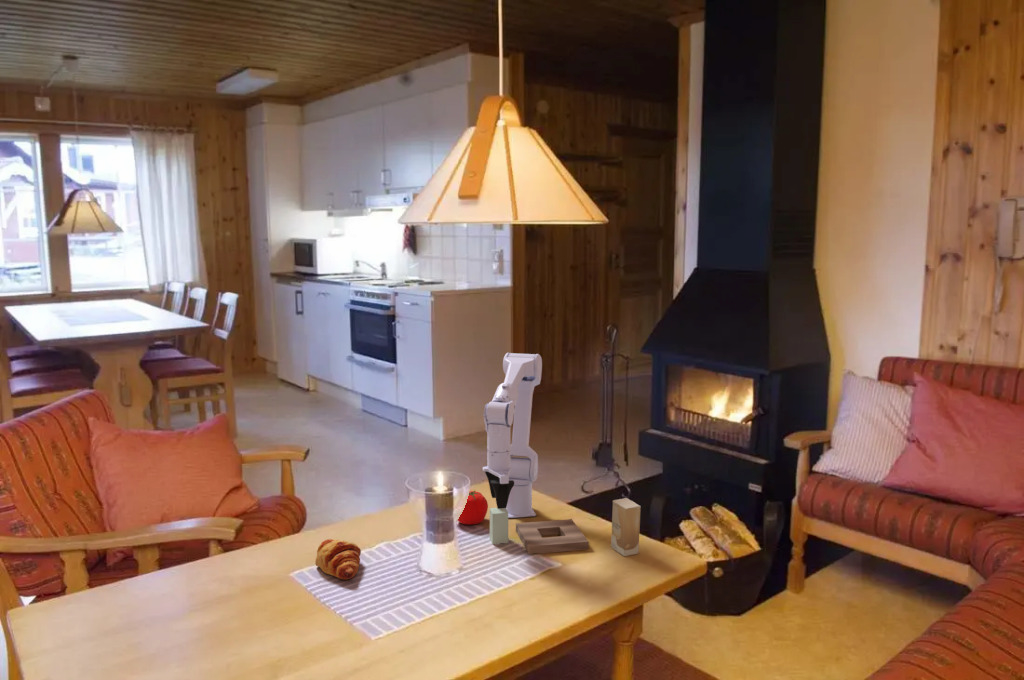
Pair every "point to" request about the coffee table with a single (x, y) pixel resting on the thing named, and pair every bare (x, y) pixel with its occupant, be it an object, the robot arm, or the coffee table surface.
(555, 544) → the walnut socket frame
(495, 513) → the sage peg
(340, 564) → the croissant
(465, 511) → the tomato
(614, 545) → the skincare box
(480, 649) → the coffee table surface
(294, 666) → the coffee table surface
